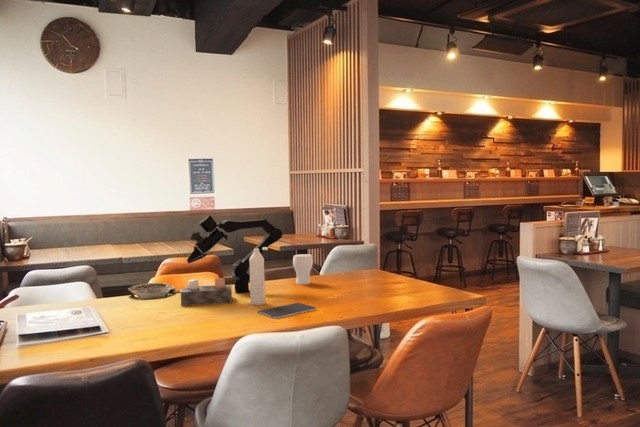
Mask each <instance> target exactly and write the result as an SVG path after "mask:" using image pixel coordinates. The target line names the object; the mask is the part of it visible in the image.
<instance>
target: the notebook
mask: <svg viewBox="0 0 640 427" xmlns="http://www.w3.org/2000/svg"><path fill="white" fill-rule="evenodd" d="M308 311H309V312H313V311H316V307H315V306H312V305H308V304H306V303H302V302H294V303H288V304H284V305H280V306H276V307H271V308H270V307H269V308H264V309H260V310H257V314H260V315H263V316H266V317H269V318H272V319H276V320H277V319H281V318H285V317H290V316H291V317H292V316H295V314H296V315H300V314H303V313H304V312H305V313H309V312H308ZM299 313H300V314H299Z"/></svg>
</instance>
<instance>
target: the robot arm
mask: <svg viewBox="0 0 640 427" xmlns="http://www.w3.org/2000/svg"><path fill="white" fill-rule="evenodd" d="M198 225H199V226H200V227H201V228H202V230H203V231H204V232H205V233H209V234H208V235H207V236H206V235H205V236H204V237H203V236H202V235H201V232H199V231H196V232H192V234H191V236H190V238H189V240H190V241H193V242H195V244H194V246H193V248H194V249H193V251H192V252H191V253H190V255H189V257H188V258H187V259H186V261H187V263H188V264H192V263H194V262H196V261H199V260H203V259H205V258H206V257H207V255H208V253H209V252H210V250H212V249H213V248H215V246H216V245H217V244H218V243H219V242H221V241H222V239H223V240H225V241H228V236H229V235H228V234H226V233H234V232H237V231H239V230H244V229H255V228H256V229H257V228H262V230H263V231H264V232H265V234H264V237H263V239H262V240H261V241H260V242H259V243H258V244H257V245H256V246H255V247H254V248H253V249H252V250H251V251H250V252H249V253H248V254H247V255H246V256H245V257H243V259H237V260H235V262H234V263H233V264H231V268H230V273H231V274H232V276H233V277H234V278H235V281H234V292H235V293H236V294H241V293H250V273H248V270H250V263H249V260H250V257H251V255H252V254H253V252H254V249H255V248H258V249H259V250H260V251H259V252H260V253H261V255H262V254H263V253H264V252H265V250H262V248H263V247H268V248H269V246H271V245H273V244H275V243H276V242H278V241H279V240H281V239H282V237H283V231H282V230H281V229H280V228H276V227H275V225H273V224H271V223H270V222H269V221H268V220H267V219H264V218H260V219H253V220H239V221H237V220H228V219H227V220H226V219H224V220H222V221H221V222H217V221H215V219H214V218H213V216H211V215H209V214H208V216H205V217H204V218H202V219H201V220H200V221H199V222H198Z"/></svg>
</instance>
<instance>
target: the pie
mask: <svg viewBox="0 0 640 427" xmlns="http://www.w3.org/2000/svg"><path fill="white" fill-rule="evenodd" d="M127 290H128V292H130V293H131V295H132V297H133V296H134V295H137V296H138V297H139V298H141V300H142V301H143V300H144V299H147V300H152V299H153V300H154V299H155V298H154V297H156V298H160V297H159V296H161V297H163V299H165V298H166V296H165V295H167V297H171V296H172V295H173V294H176V293H181V290H179V289H177V290H176V289H175V287H174V285H173V284H169V283H166V282H152V283H151V282H150V283H149V282H148V283H140V284H136V285H135V284H134V285H132V286H130V287H128V288H127ZM170 292H171V293H170ZM168 294H169V295H168ZM170 295H171V296H170ZM155 300H156V299H155Z"/></svg>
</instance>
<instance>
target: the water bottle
mask: <svg viewBox="0 0 640 427" xmlns="http://www.w3.org/2000/svg"><path fill="white" fill-rule="evenodd" d="M254 248H255V247H254ZM254 248H253V249H254ZM268 249H269V246H268V247H263V248H262V250H264V251H268ZM259 251H260V250H259V249H258V248H255V249H254V252H253V254H252V255H251V257H250V260H249V263H250V266H249V275H250V279H249V293H250V298H249V299H250V302H249V303H250V305H251V306H262V305H265V304H266V291H265V288H266V286H265V285H266V284H265V282H266V281H265V259H264V256H263V255H262V254H261V253H260V252H259Z"/></svg>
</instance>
